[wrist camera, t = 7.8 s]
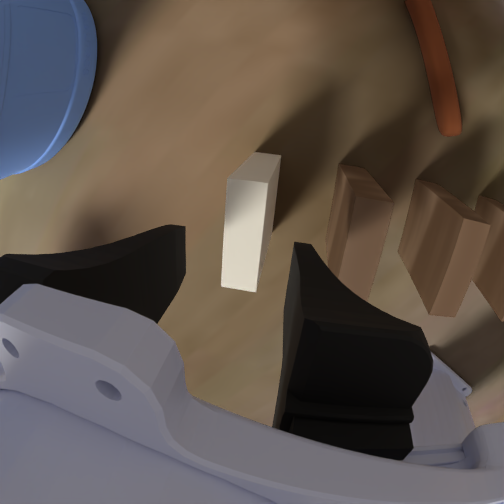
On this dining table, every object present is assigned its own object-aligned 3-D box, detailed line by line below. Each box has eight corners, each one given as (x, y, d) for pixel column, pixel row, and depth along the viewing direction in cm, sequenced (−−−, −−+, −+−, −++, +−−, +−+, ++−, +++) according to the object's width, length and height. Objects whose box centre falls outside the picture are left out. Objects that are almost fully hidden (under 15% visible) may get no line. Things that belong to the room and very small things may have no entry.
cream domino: (281, 155, 18) (268, 183, 12) (272, 232, 21) (255, 292, 15) (254, 151, 19) (227, 178, 12) (247, 228, 21) (221, 286, 15)
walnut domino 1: (364, 168, 18) (394, 203, 12) (349, 243, 20) (365, 307, 14) (338, 163, 18) (356, 196, 12) (325, 240, 20) (331, 303, 14)
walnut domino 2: (437, 184, 17) (490, 224, 11) (418, 254, 20) (454, 317, 14) (415, 178, 18) (463, 218, 11) (397, 251, 20) (428, 315, 14)
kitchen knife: (453, 132, 16) (467, 137, 14) (435, 134, 16) (447, 139, 15) (382, -81, 10) (387, -95, 8) (362, -81, 10) (366, -95, 9)
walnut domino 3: (495, 200, 17) (554, 242, 11) (475, 264, 19) (518, 322, 13) (478, 195, 17) (536, 237, 11) (458, 261, 19) (500, 321, 13)
